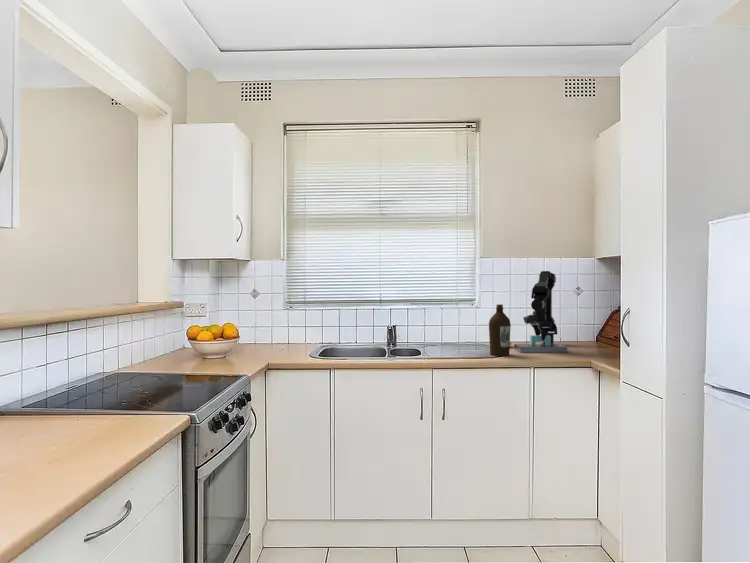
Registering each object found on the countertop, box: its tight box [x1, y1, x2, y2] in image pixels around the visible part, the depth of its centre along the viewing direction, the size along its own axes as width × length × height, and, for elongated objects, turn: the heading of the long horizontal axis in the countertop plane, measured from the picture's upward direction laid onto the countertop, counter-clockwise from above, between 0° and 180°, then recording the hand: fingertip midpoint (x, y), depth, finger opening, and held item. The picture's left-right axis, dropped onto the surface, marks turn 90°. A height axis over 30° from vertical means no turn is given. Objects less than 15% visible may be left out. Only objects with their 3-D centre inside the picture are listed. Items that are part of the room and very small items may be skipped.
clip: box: [529, 334, 551, 346], centre depth 294 cm, size 3×10×8 cm, turn 91°
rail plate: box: [513, 343, 568, 354], centre depth 294 cm, size 12×24×3 cm, turn 91°
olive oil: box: [488, 303, 511, 357], centre depth 281 cm, size 11×11×25 cm
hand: (540, 339), depth 294 cm, fingers open, 9 cm apart
